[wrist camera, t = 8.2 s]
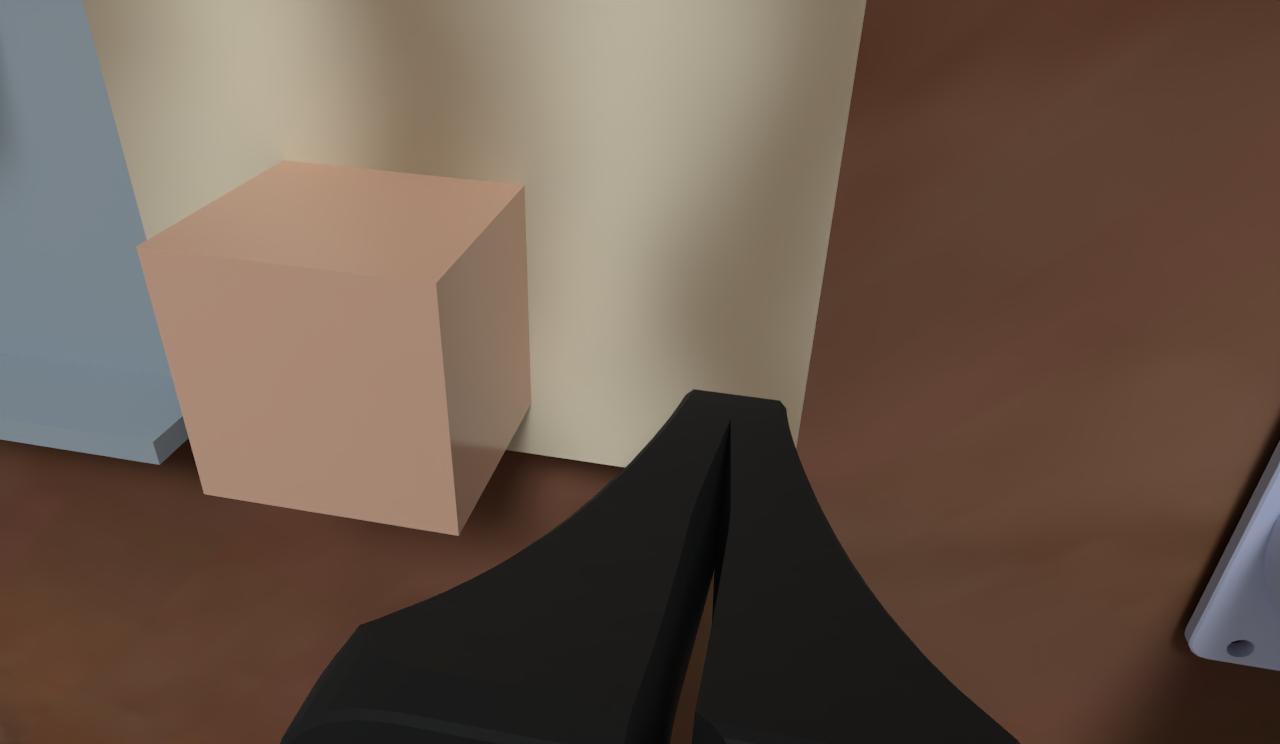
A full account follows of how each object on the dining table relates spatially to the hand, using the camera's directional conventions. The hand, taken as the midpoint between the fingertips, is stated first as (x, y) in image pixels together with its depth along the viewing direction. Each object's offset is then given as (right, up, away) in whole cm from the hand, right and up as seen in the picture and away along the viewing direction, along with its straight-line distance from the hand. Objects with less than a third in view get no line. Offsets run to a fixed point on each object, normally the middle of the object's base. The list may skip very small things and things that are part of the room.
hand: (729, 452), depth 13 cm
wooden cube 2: (-6, +3, +4) cm, 7 cm away
